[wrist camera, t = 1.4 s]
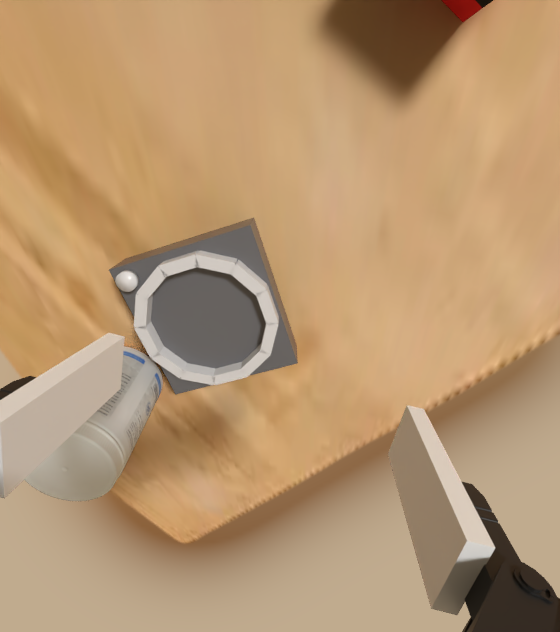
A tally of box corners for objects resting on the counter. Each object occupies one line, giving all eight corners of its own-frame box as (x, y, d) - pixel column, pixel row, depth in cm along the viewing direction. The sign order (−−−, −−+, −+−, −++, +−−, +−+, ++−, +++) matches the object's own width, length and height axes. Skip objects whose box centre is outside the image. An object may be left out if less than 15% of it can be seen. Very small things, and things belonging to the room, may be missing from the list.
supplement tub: (75, 368, 45) (-14, 459, 32) (125, 328, 42) (52, 410, 29) (131, 416, 48) (72, 517, 35) (181, 382, 46) (138, 477, 32)
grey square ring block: (125, 258, 39) (101, 274, 34) (253, 217, 37) (248, 228, 32) (184, 374, 45) (171, 402, 40) (296, 345, 43) (297, 370, 38)
